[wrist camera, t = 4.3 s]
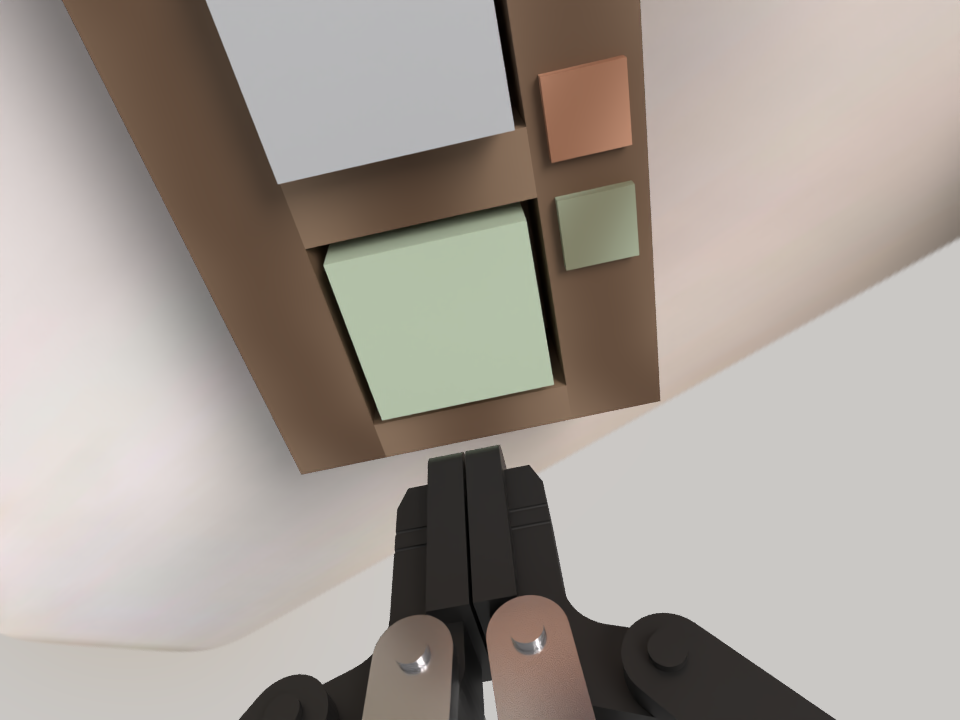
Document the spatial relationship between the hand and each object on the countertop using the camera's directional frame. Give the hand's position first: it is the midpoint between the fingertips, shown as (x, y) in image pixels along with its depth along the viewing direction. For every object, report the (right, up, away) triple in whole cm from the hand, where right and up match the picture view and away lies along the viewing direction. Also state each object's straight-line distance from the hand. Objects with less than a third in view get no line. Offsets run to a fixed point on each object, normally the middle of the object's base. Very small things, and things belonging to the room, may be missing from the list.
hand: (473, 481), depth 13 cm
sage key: (-1, +5, +7) cm, 9 cm away
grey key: (-3, +11, +2) cm, 11 cm away
